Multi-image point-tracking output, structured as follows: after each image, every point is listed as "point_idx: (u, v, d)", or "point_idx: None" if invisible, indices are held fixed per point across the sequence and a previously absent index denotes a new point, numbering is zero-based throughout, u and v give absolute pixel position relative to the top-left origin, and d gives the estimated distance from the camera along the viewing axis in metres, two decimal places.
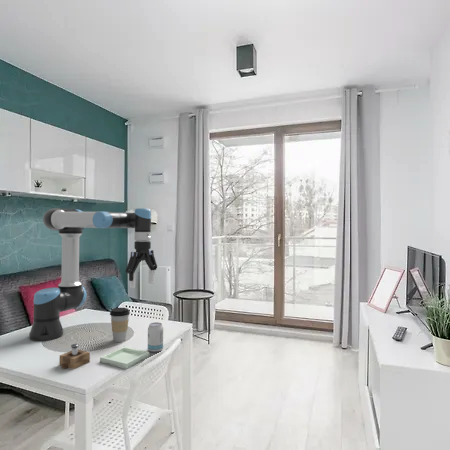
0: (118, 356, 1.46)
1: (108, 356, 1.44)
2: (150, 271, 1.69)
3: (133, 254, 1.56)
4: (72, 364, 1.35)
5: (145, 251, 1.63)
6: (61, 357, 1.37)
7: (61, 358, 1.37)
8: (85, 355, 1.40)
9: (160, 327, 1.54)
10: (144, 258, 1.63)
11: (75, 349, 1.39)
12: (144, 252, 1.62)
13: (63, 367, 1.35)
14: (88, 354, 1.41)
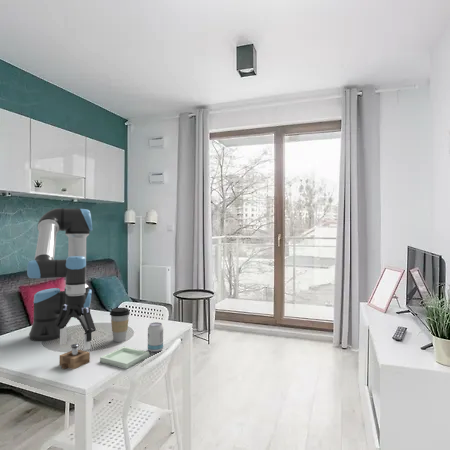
0: (118, 356, 1.46)
1: (108, 356, 1.44)
2: None
3: None
4: (72, 364, 1.35)
5: (74, 307, 1.38)
6: (61, 357, 1.37)
7: (61, 358, 1.37)
8: (85, 355, 1.40)
9: (160, 327, 1.54)
10: (73, 315, 1.38)
11: (75, 349, 1.39)
12: (73, 308, 1.38)
13: (63, 367, 1.35)
14: (88, 354, 1.41)
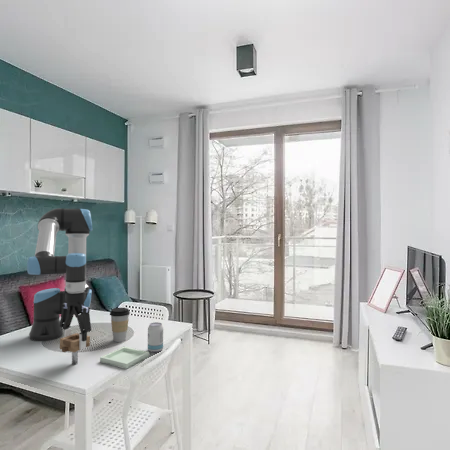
0: (118, 356, 1.46)
1: (108, 356, 1.44)
2: None
3: None
4: (72, 347, 1.35)
5: (75, 303, 1.38)
6: (61, 340, 1.38)
7: (61, 341, 1.38)
8: None
9: (160, 327, 1.54)
10: (73, 312, 1.39)
11: None
12: (73, 305, 1.39)
13: (63, 350, 1.35)
14: (88, 338, 1.41)
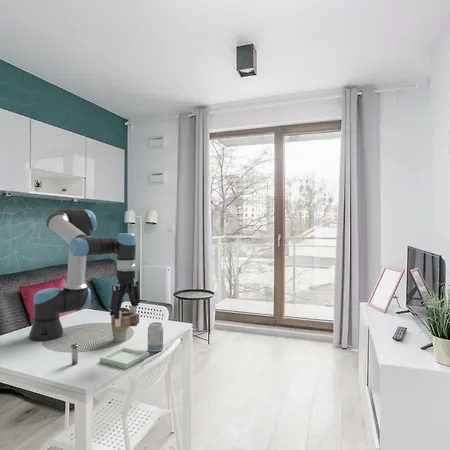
0: (118, 356, 1.46)
1: (108, 356, 1.44)
2: (131, 307, 1.48)
3: (115, 289, 1.38)
4: (138, 319, 1.46)
5: (129, 280, 1.45)
6: (128, 319, 1.40)
7: (128, 320, 1.40)
8: None
9: (160, 327, 1.54)
10: (128, 289, 1.44)
11: (75, 349, 1.39)
12: (128, 282, 1.44)
13: (136, 324, 1.43)
14: None
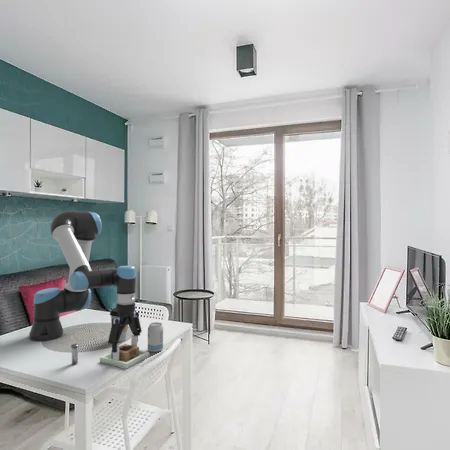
0: None
1: (108, 356, 1.44)
2: (133, 337, 1.50)
3: (115, 322, 1.38)
4: (138, 352, 1.46)
5: (129, 313, 1.45)
6: (128, 353, 1.41)
7: (128, 354, 1.41)
8: None
9: (160, 327, 1.54)
10: (128, 322, 1.45)
11: (75, 349, 1.39)
12: (128, 315, 1.44)
13: None
14: None
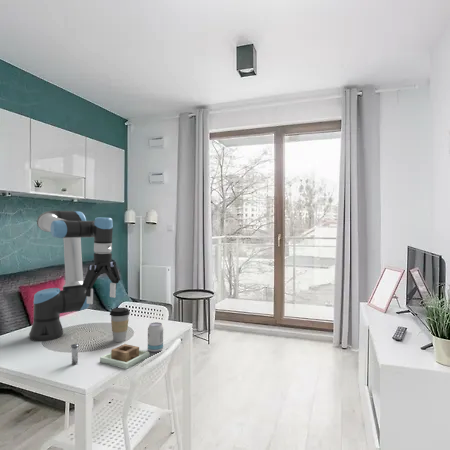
0: None
1: (108, 356, 1.44)
2: (112, 284, 1.57)
3: (91, 268, 1.44)
4: (138, 352, 1.46)
5: (105, 263, 1.51)
6: (128, 353, 1.41)
7: (128, 354, 1.41)
8: None
9: (160, 327, 1.54)
10: (104, 271, 1.51)
11: (75, 349, 1.39)
12: (104, 265, 1.51)
13: None
14: None
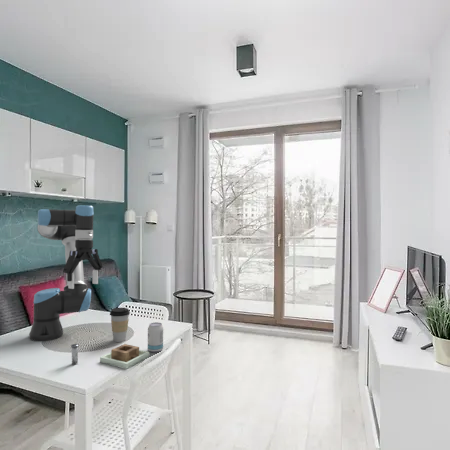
0: None
1: (108, 356, 1.44)
2: (94, 271, 1.61)
3: (72, 253, 1.49)
4: (138, 352, 1.46)
5: (87, 250, 1.56)
6: (128, 353, 1.41)
7: (128, 354, 1.41)
8: None
9: (160, 327, 1.54)
10: (86, 257, 1.55)
11: (75, 349, 1.39)
12: (86, 251, 1.55)
13: None
14: None
